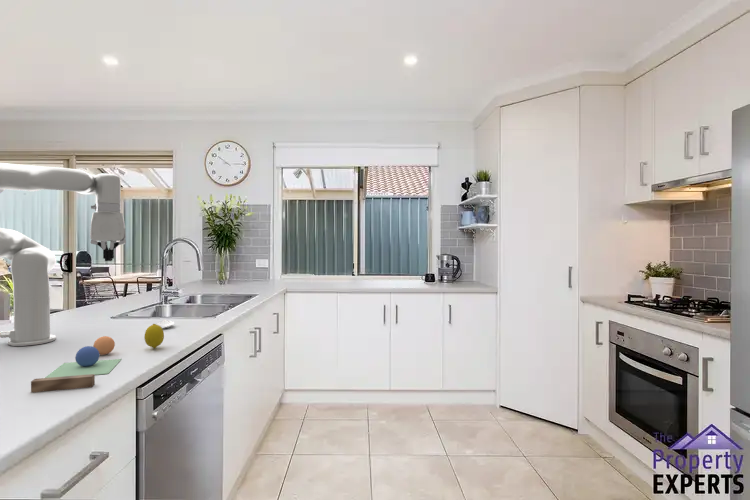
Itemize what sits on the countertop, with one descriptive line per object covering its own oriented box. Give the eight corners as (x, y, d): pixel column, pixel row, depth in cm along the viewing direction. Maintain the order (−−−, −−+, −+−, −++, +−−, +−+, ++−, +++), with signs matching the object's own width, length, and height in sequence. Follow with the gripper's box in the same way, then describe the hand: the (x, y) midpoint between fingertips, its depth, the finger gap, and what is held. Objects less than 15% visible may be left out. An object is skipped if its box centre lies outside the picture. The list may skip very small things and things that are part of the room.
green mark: (43, 379, 107) (43, 378, 107) (64, 363, 120) (64, 362, 120) (108, 374, 111) (108, 373, 111) (121, 359, 124) (121, 358, 124)
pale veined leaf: (175, 323, 177) (174, 317, 176) (173, 331, 166) (172, 324, 165) (154, 325, 174) (153, 319, 174) (150, 334, 163) (149, 327, 162)
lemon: (155, 351, 134) (155, 325, 134) (140, 350, 135) (140, 325, 135) (167, 347, 139) (167, 322, 139) (152, 346, 140) (152, 321, 140)
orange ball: (96, 336, 132) (92, 355, 130) (94, 334, 127) (90, 353, 125) (117, 337, 134) (113, 356, 132) (115, 335, 129) (112, 354, 127)
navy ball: (81, 352, 120) (76, 370, 117) (75, 343, 116) (70, 362, 113) (103, 350, 122) (99, 369, 119) (98, 341, 118) (94, 360, 115)
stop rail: (31, 392, 98) (30, 381, 97) (34, 389, 99) (34, 378, 99) (92, 387, 101) (92, 376, 101) (94, 384, 103) (94, 374, 103)
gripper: (80, 207, 146) (80, 261, 147) (129, 209, 151) (130, 261, 151) (87, 209, 153) (87, 260, 154) (134, 210, 158) (134, 260, 158)
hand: (108, 260), depth 152 cm, fingers closed
